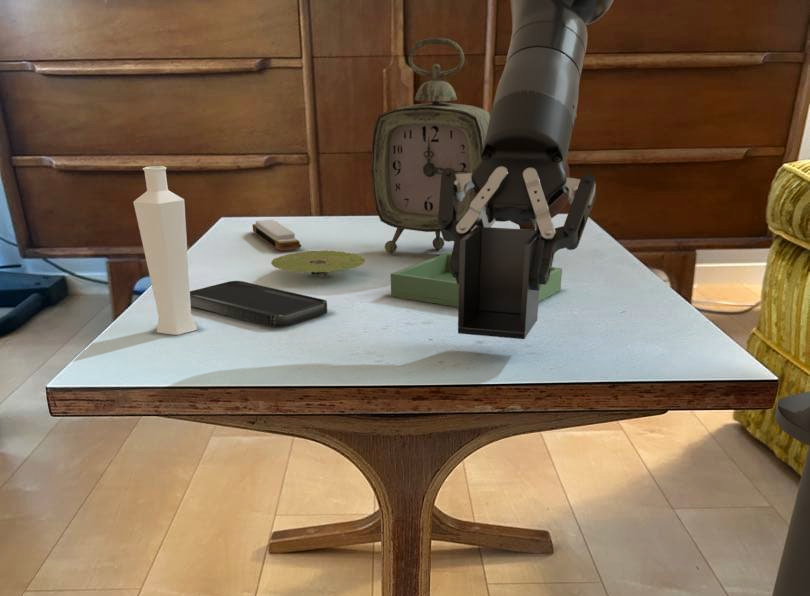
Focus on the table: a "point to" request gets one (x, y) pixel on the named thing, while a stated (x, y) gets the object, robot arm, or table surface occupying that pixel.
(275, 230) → the harmonica
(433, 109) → the tabletop clock
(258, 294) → the phone
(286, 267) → the green round disc
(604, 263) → the table surface
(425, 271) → the tray
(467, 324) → the holder
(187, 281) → the perfume bottle
